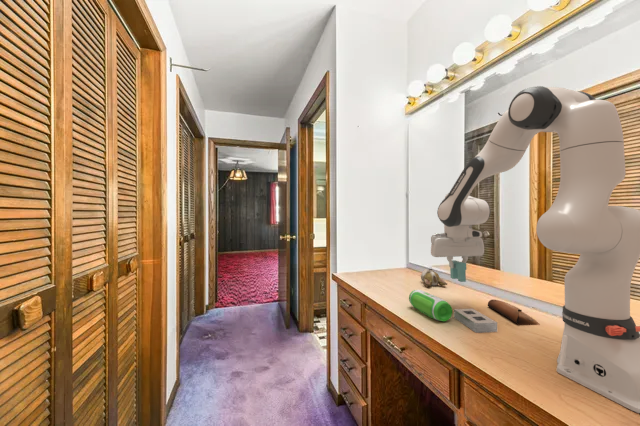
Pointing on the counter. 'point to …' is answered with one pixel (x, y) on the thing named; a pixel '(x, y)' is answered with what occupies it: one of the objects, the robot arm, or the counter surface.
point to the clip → (458, 271)
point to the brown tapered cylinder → (512, 313)
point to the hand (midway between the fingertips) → (457, 267)
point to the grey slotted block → (475, 320)
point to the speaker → (431, 305)
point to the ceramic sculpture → (431, 278)
